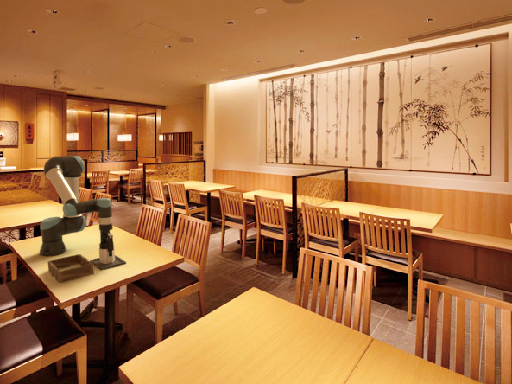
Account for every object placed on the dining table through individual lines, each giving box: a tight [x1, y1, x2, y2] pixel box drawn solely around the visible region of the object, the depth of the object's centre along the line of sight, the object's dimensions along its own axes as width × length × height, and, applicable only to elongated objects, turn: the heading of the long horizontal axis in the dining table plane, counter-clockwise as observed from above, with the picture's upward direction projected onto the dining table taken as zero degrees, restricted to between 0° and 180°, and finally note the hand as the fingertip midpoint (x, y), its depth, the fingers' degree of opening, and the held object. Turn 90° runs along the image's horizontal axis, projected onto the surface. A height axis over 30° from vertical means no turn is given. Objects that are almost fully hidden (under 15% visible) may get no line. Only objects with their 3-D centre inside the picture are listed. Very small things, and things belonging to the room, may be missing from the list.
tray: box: [89, 254, 127, 271], centre depth 203 cm, size 18×15×1 cm
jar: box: [98, 242, 116, 264], centre depth 202 cm, size 9×8×12 cm
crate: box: [47, 253, 95, 284], centre depth 188 cm, size 22×17×6 cm
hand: (107, 259), depth 202 cm, fingers closed on jar, 7 cm apart
